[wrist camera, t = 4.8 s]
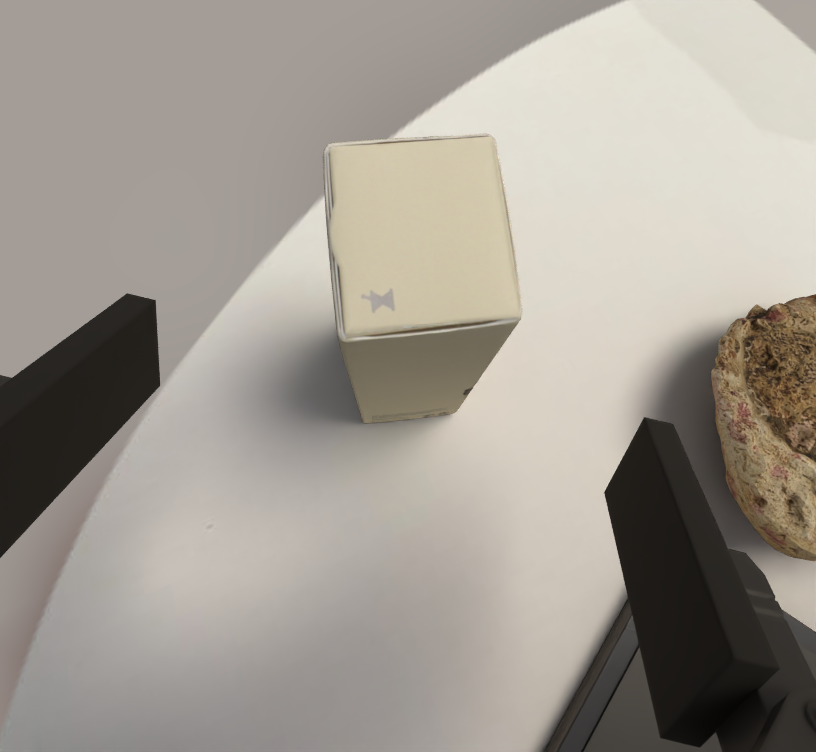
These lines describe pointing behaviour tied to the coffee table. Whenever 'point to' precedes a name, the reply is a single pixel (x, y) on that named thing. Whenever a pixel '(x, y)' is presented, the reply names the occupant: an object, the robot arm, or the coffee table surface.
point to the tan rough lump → (771, 421)
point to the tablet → (632, 698)
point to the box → (419, 269)
